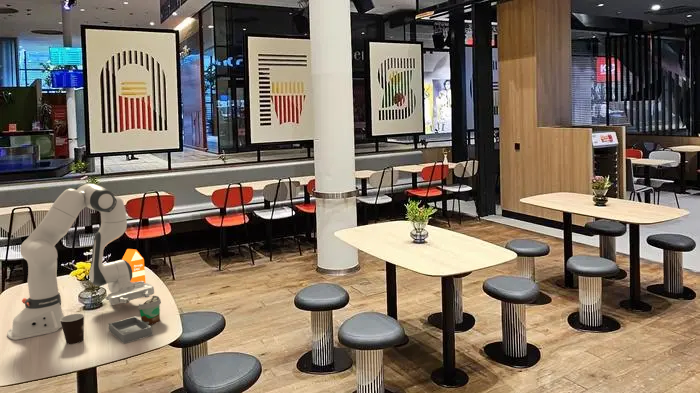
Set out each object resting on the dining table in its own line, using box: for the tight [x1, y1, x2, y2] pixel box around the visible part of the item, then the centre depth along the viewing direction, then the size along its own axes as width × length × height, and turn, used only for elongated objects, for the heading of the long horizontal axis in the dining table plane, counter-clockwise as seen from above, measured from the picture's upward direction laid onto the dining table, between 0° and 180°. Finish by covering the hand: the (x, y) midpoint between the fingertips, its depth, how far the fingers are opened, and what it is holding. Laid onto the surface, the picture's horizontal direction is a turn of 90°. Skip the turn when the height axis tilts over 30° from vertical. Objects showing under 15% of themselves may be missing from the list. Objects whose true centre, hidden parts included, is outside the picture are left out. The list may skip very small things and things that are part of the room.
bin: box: [107, 315, 153, 345], centre depth 231 cm, size 12×18×4 cm, turn 41°
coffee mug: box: [60, 313, 85, 345], centre depth 226 cm, size 12×9×10 cm
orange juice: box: [121, 248, 147, 283], centre depth 293 cm, size 8×9×20 cm
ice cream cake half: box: [138, 295, 162, 326], centre depth 242 cm, size 12×6×10 cm, turn 170°
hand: (137, 298), depth 253 cm, fingers open, 8 cm apart
